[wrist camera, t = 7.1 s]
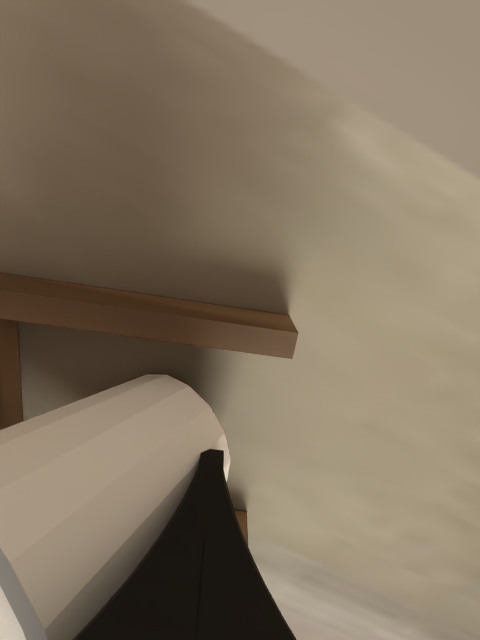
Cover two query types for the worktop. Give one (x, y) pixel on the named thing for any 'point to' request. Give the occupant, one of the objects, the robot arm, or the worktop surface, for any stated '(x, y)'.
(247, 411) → the worktop surface
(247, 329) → the walnut bay
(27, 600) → the white cylinder
